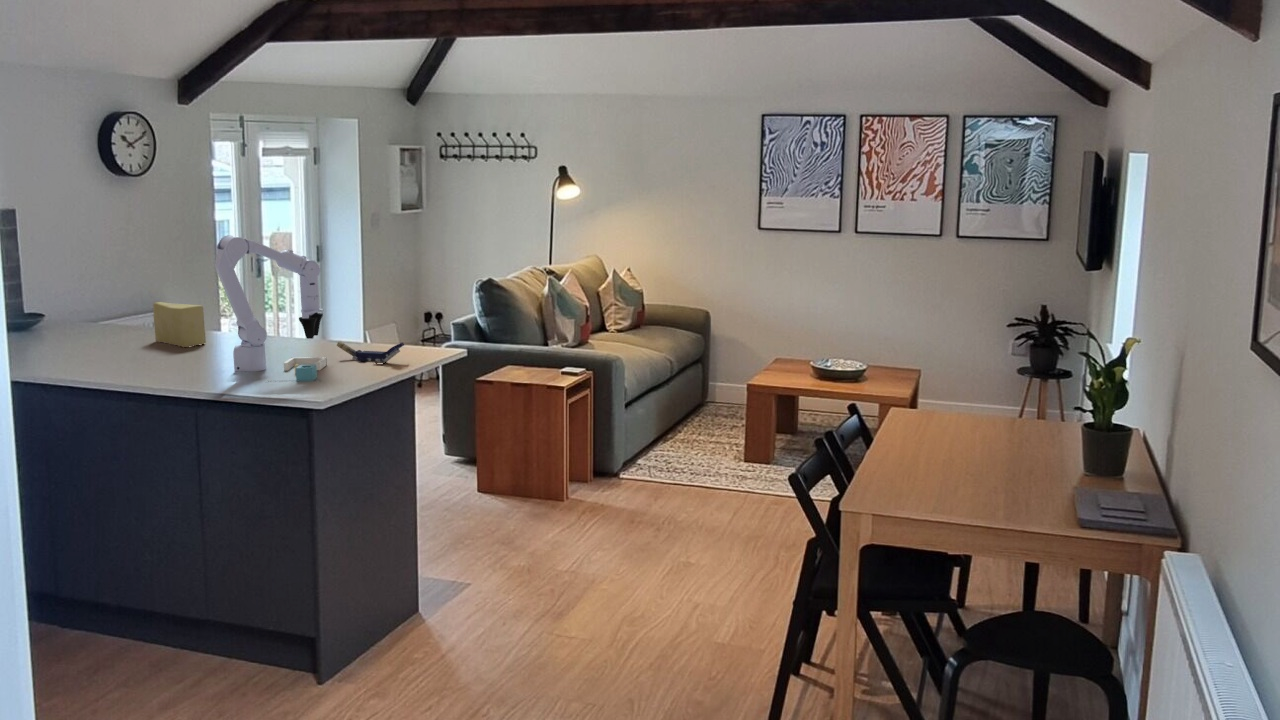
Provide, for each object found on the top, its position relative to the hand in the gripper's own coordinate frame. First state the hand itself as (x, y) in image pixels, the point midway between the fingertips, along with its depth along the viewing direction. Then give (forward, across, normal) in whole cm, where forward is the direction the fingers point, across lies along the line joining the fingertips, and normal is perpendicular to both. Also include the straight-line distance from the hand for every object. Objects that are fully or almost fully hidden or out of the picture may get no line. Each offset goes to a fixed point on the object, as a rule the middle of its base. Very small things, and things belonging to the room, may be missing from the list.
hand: (312, 336), depth 376 cm
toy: (+10, +2, -18) cm, 21 cm away
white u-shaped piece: (+8, -10, 0) cm, 13 cm away
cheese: (+10, +44, +61) cm, 76 cm away
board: (+9, -18, -2) cm, 20 cm away
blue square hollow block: (+8, -28, -5) cm, 30 cm away
